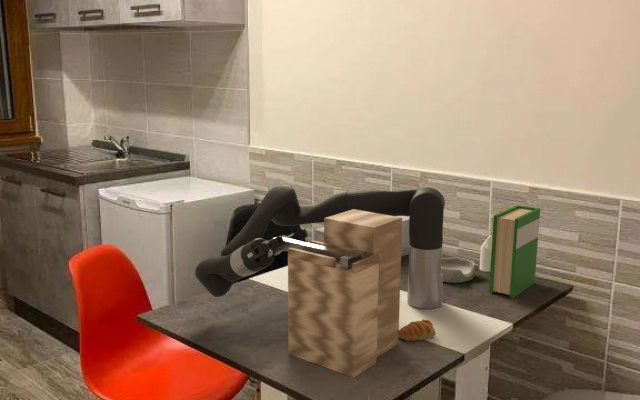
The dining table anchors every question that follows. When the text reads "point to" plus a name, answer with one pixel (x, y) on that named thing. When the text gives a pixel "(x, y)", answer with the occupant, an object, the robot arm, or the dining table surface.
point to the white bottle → (486, 255)
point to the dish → (458, 270)
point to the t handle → (325, 252)
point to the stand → (347, 294)
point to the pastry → (417, 330)
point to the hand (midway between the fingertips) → (294, 236)
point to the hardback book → (514, 250)
